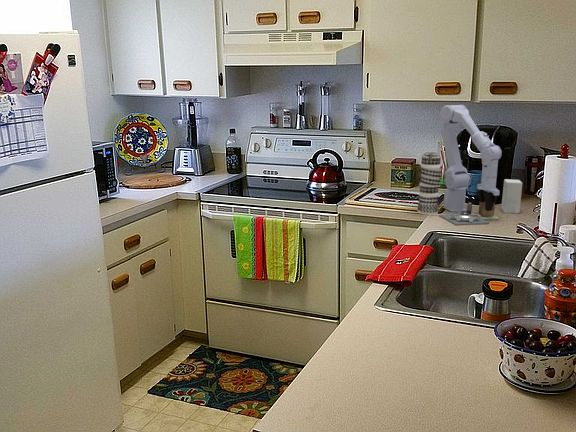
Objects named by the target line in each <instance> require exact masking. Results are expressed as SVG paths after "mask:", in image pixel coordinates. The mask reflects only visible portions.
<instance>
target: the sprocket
mask: <svg viewBox="0 0 576 432" xmlns="http://www.w3.org/2000/svg"><path fill="white" fill-rule="evenodd" d="M466 205H467V206H466V209H467V211H455V212H451V211H449V213H448V214H449V218H450V219H455V220H457V221H469V222H473V221H475V220H478V221H479V220H481V217H480V214H478V213H474V212H472V208H473V203H472V202H467V203H466Z"/></svg>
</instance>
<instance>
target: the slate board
mask: <svg viewBox="0 0 576 432" xmlns="http://www.w3.org/2000/svg"><path fill="white" fill-rule="evenodd" d="M438 217H440V218H442V219H443V220H445V221H446V222H447V221H448V222H449V223H451V224H453V225H454V226H468V225H470V226H473V225H475V226H476V225H489V224H490V222H489V221H487V220H483V219H481V220H479V221H478V220H475V221H473V222H469V221H457V220H455V219H450V218H449V213H448V214H447V213H446V214H439V215H438Z"/></svg>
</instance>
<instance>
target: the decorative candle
mask: <svg viewBox="0 0 576 432" xmlns="http://www.w3.org/2000/svg"><path fill="white" fill-rule="evenodd" d="M441 158H442V156H441V155H440V153H439V152H435V151H426V152H424V153H423V155H421V163H420V165H419V166H418V168H419V170H418V172H419V174H418V177H419V178H418V181H419V183H418V184H419V193H418V195H417V198H418V199H417V201H418V203H417V213H418V214H420V215H425V216H426V215H428V216H430V215H431V216H432V215H433V216H435V215H437V214H439V206H440V205H439V202H440V200H439V199H440V196H439V193H440V192H439V187H440V186H441V182H442V181H441V180H440V178H441V177H442V175H441V174H443V173H442V171H441V169H442V168H443V166H442V164H441Z"/></svg>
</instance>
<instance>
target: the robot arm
mask: <svg viewBox="0 0 576 432" xmlns="http://www.w3.org/2000/svg"><path fill="white" fill-rule="evenodd" d="M439 117H440V132H441V136H442V141H443V147H444V152H445V157H446V161H447V165H448V168H447V169H446V170H445V172H444V176H445V179H444V185H445V187H446V190H445V191H444V196H443V206H444V207H442V209H445V210H447V211H449V212H452V213H453V212H457V211H461V212H467V208H466V207H465V206H466V193H467V189H468V187H469V186H470V184H471V175H470V174H469V173H468V169H467V168H466V167H465V166H464V165H463V164H462V158H461V154H460V150H459V144H458V139H457V134H456V127H457V126H458V125H459V124H461V125H462V126H463V127H464V129H466V130H467V132H468V133H469V135H470V136H471V141H472V143H473V144H474V145H475V147H476V148H477V149H478V151H479V152H480V153H479V156H480V159H481V164H482V170H481V180H480V183H477V184H476V189H477V191H476V194H477V196H478V200H479V202H486V211H491V210H492V208H493V205H494V203H495V204H496V201H497V199H498V197H499V196H500V191H501V190H499V189H498V188H497V187H496V186H497V177H498V166H499V165H498V164H499V160H500V159H501V157H502V155H503V154H502V153H503V151H502V149H501V146H499V145H496V144H495V143H494V142H493V141H492V139H490V138H489V136H488V133H487V132H484V131H482V130H481V131H480V129H479V128H478V127H477V124H476V123H475V122H474V120H473V118H472V116H471V115H470V110H469V109H467V106H466V105H464V104H451V105H450V104H446V105H444V106H442V108H441V110H440V112H439Z"/></svg>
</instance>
